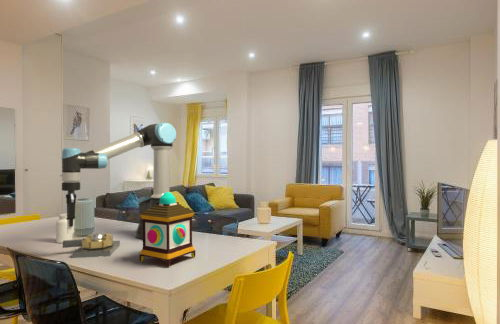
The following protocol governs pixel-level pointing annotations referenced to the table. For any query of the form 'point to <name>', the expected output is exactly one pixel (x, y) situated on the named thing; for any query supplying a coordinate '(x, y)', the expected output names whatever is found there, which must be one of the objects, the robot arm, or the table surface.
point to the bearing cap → (96, 251)
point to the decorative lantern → (167, 230)
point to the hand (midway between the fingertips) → (70, 233)
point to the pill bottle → (62, 229)
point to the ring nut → (89, 242)
